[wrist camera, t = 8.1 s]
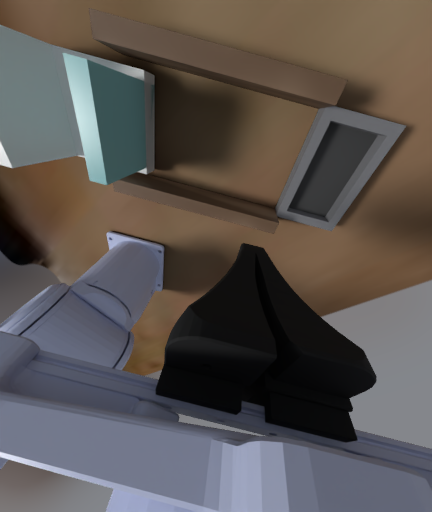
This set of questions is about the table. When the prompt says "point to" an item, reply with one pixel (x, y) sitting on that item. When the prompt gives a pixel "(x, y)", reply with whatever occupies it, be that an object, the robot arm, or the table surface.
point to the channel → (221, 69)
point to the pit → (334, 165)
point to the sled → (73, 109)
